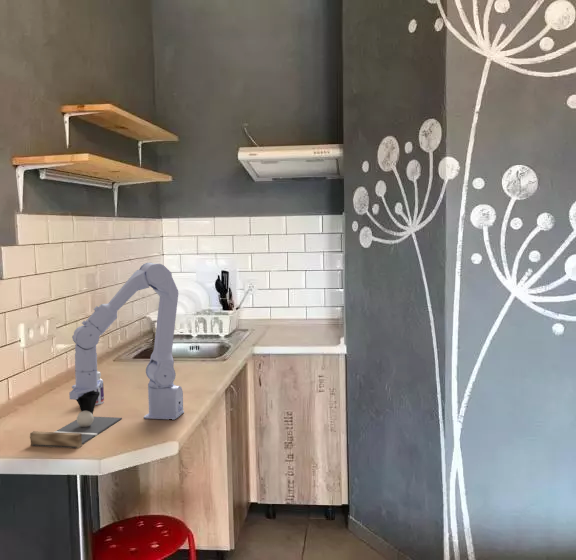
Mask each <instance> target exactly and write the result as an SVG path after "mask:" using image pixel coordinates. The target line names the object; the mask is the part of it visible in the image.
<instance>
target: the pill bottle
mask: <svg viewBox="0 0 576 560" xmlns="http://www.w3.org/2000/svg"><path fill="white" fill-rule="evenodd" d="M101 377H102V374H101V372H100V371H99V370H97V380H103V379H102V378H101ZM94 391H96V392H100V395H99V397H98V399H97V401H96V404H95V406H97V405H103V403H105V392H104V386H103V387H101V388H98V389H96V390H94Z"/></svg>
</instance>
